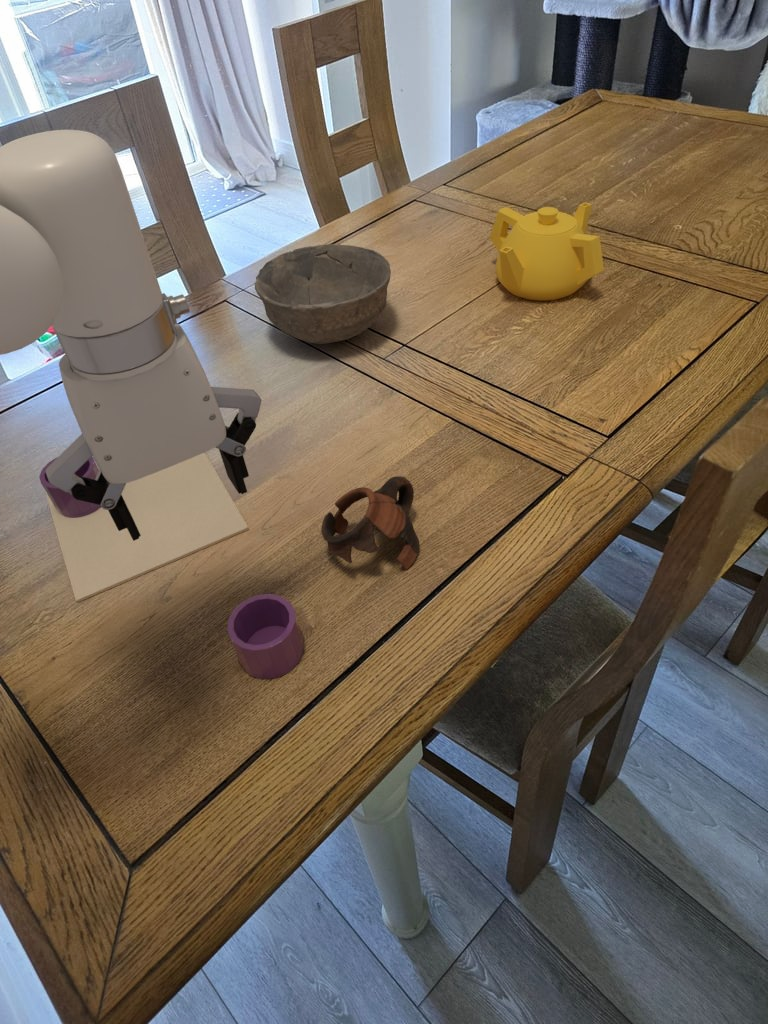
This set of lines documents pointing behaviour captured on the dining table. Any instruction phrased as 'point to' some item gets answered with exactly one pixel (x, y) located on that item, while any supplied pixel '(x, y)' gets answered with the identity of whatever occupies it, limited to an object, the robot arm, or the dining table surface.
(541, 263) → the teapot
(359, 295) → the bowl
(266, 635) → the purple hollow cylinder
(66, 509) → the purple cup
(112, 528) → the placemat
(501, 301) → the dining table surface
